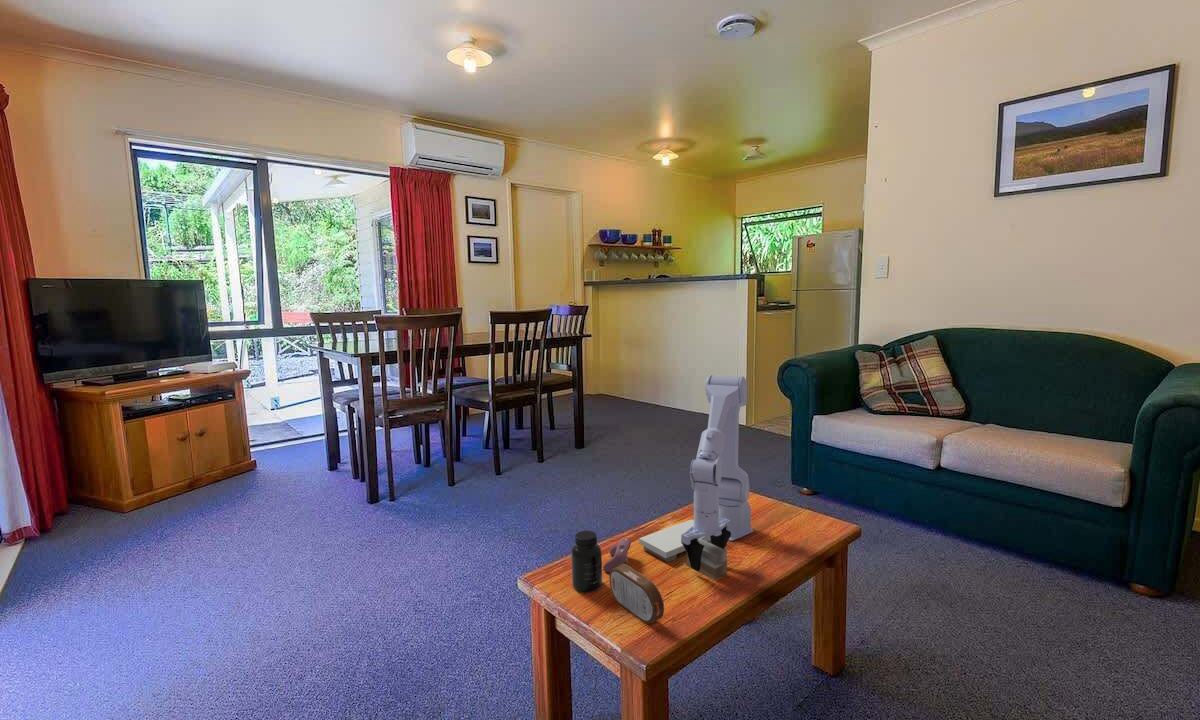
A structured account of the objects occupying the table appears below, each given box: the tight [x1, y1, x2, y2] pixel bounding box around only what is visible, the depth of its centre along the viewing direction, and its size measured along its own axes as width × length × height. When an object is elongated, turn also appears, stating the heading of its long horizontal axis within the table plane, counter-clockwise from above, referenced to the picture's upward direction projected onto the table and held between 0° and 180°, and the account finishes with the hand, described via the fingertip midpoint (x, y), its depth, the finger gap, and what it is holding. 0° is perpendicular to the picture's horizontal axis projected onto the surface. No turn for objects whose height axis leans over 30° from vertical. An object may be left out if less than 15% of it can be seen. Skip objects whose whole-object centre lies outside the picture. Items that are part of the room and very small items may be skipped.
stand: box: [638, 519, 712, 563], centre depth 136 cm, size 19×10×3 cm, turn 126°
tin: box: [609, 563, 665, 625], centre depth 107 cm, size 15×3×8 cm, turn 35°
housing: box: [686, 538, 728, 581], centre depth 123 cm, size 4×9×6 cm, turn 36°
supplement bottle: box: [570, 530, 603, 594], centre depth 117 cm, size 7×7×12 cm
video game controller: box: [602, 537, 632, 573], centre depth 127 cm, size 10×5×7 cm, turn 168°
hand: (706, 564), depth 123 cm, fingers open, 7 cm apart
